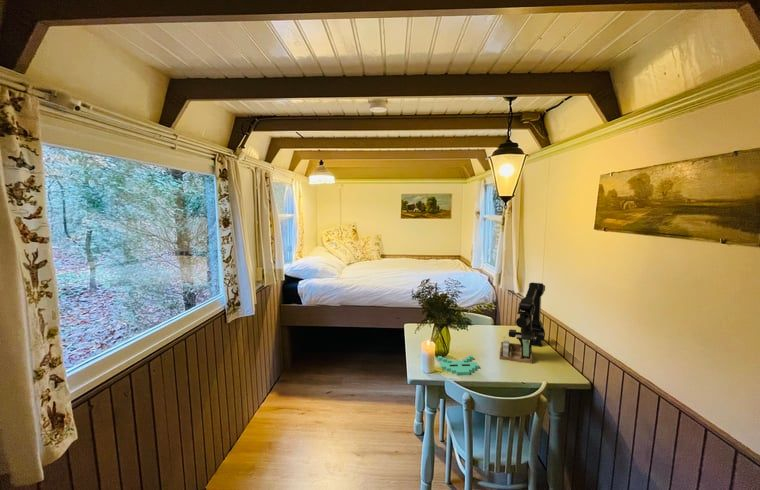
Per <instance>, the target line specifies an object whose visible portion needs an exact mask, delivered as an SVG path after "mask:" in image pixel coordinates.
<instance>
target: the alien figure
mask: <svg viewBox="0 0 760 490" xmlns="http://www.w3.org/2000/svg"><path fill="white" fill-rule="evenodd" d="M437 360H438V362H439V361H440V368H441V370H442V371H446V372H447V373H449V372H450V373H451V374H455V375H456V376H470V374H473V373H474V372H476V370H479V367H480V366H479V364H478V363H477V361H473V360H474V356H473V355H472V354H471V355H467V356H466V357H465V358H463V359H462V360H452V359H451V358H450V359H449V358H448V359H447V357H443V356H442V355H437ZM472 361H473V362H472Z"/></svg>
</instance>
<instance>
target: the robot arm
mask: <svg viewBox="0 0 760 490" xmlns="http://www.w3.org/2000/svg"><path fill="white" fill-rule="evenodd" d="M545 291H546V285H545V284H544V283H542V282H529V284H528V290H527V292H526V295H525V297H524V298H522V299H521V300H520V301H519V303H518V308H517V313H516V314H517V315H519V317H518V318H516V321H515V323H516V326H517V327H518V328H520V331H517V329H512V328H511V329H509V330H508V337H509V338H516V340H518V341H519V342H520V343H519V344H521V346H522V349H523V340H529V350H530V348H531V346H532V347H533V346H536V347H543V342H542V341H545V338H546V330H545V328H544V324H543V322H542V320H541V310H542V309H541V308H542V307H541V306H542V296H543V295H544V293H545Z"/></svg>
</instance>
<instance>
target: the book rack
mask: <svg viewBox="0 0 760 490" xmlns="http://www.w3.org/2000/svg"><path fill="white" fill-rule="evenodd" d="M532 348H533V345H531V348H530V350H529V356H523V349H522V346H521V343H513V342H510V339H508V338H504V339H503V341H501V342H500V348H499V360H504V361H509V362H518V363H524V364H531V365H532V364H533V352H532V351H533V349H532Z"/></svg>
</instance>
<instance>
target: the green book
mask: <svg viewBox="0 0 760 490" xmlns="http://www.w3.org/2000/svg"><path fill="white" fill-rule="evenodd" d="M529 342H530V340H523V356H529Z"/></svg>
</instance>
